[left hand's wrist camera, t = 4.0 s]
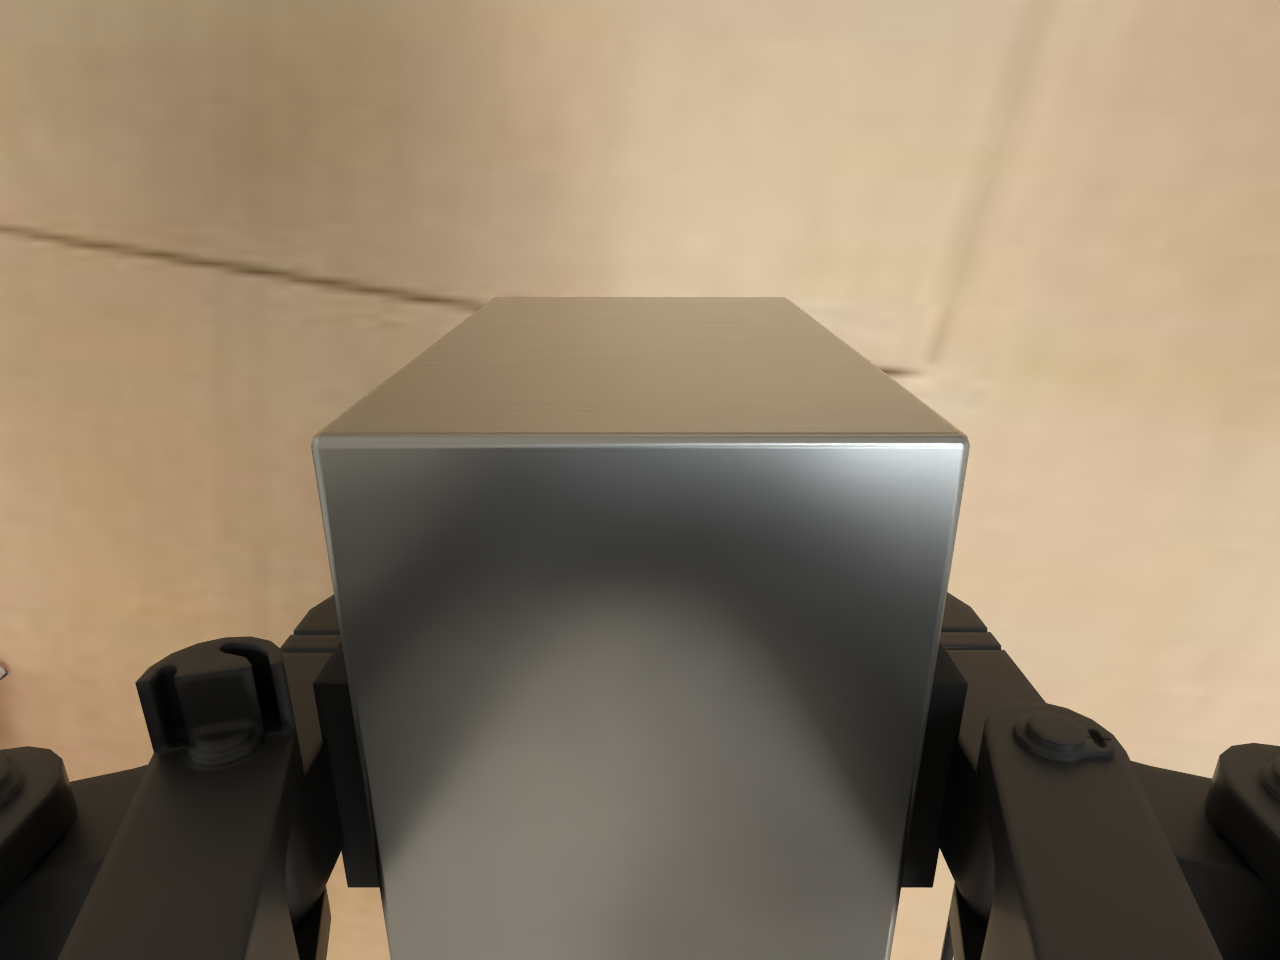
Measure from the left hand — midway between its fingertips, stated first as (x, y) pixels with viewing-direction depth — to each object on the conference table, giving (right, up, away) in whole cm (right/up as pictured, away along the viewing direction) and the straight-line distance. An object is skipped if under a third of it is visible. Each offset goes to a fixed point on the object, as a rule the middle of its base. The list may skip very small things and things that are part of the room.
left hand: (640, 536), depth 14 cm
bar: (0, -7, +3) cm, 8 cm away
